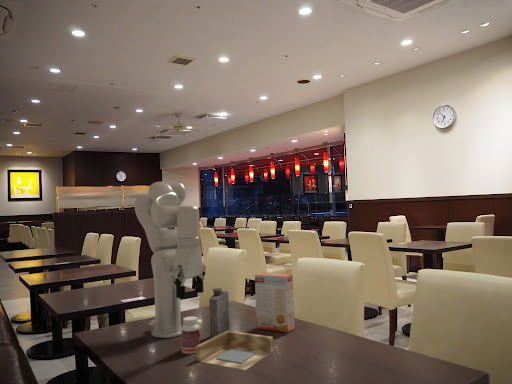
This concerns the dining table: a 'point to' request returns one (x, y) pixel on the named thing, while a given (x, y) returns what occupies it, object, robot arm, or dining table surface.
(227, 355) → the slate pad
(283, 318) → the cracker box
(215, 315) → the flask
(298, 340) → the dining table surface
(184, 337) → the pill bottle
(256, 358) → the wooden corner stand
